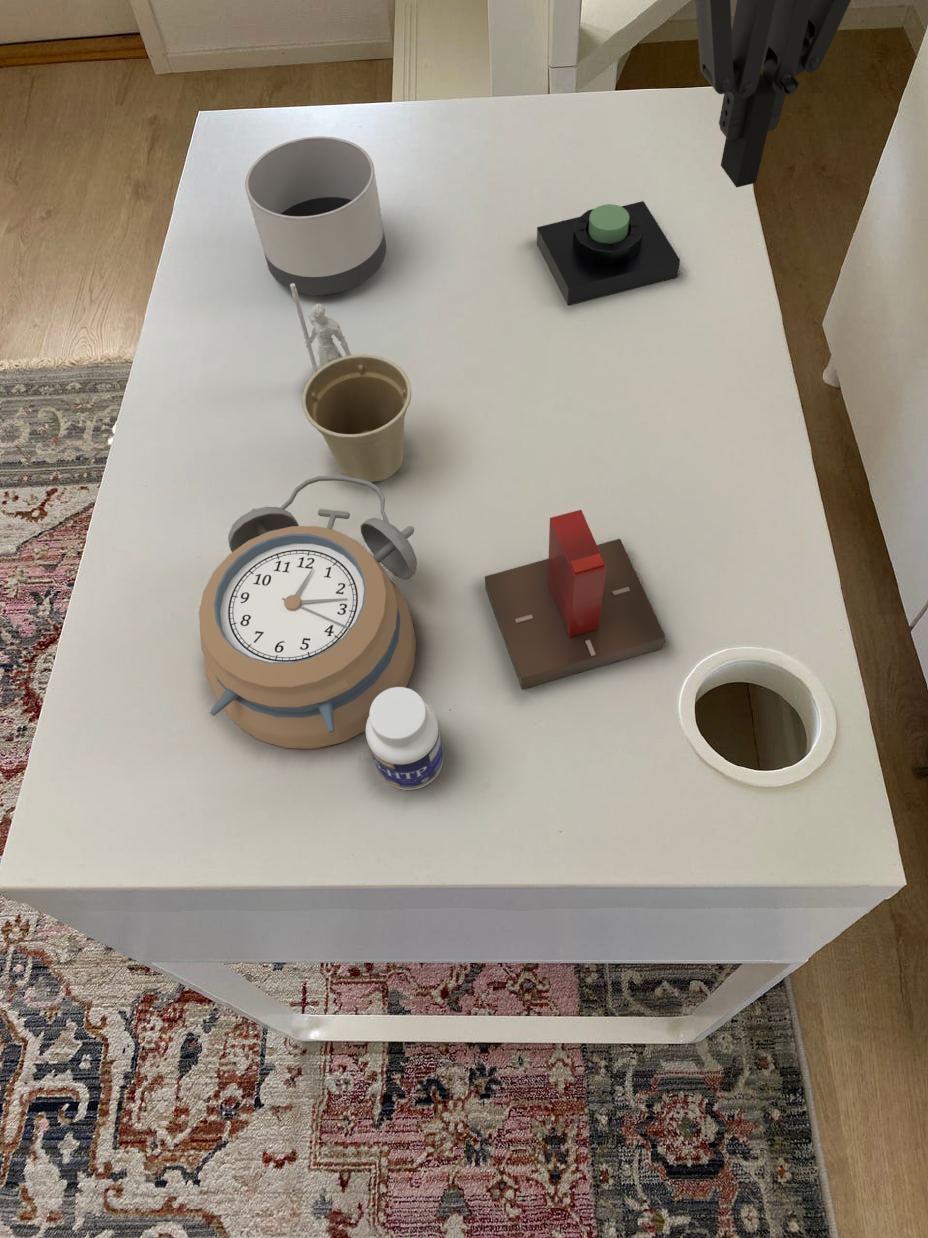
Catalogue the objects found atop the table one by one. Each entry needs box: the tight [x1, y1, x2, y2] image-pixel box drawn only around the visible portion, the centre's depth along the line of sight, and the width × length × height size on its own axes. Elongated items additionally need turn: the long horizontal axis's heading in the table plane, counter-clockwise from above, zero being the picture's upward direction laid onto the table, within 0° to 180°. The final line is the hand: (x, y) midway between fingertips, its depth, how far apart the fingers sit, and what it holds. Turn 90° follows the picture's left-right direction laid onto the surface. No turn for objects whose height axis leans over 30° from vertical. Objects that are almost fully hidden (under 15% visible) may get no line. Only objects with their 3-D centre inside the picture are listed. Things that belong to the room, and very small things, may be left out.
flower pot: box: [301, 353, 412, 483], centre depth 84 cm, size 9×9×9 cm
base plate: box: [484, 538, 666, 690], centre depth 77 cm, size 12×10×2 cm
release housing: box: [536, 200, 681, 306], centre depth 98 cm, size 12×10×4 cm
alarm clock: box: [198, 475, 418, 750], centre depth 75 cm, size 17×9×23 cm
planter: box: [244, 135, 387, 296], centre depth 97 cm, size 13×13×10 cm
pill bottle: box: [365, 687, 444, 791], centre depth 69 cm, size 5×5×9 cm
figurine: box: [290, 283, 353, 374], centre depth 87 cm, size 5×5×12 cm
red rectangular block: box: [548, 509, 607, 637], centre depth 72 cm, size 6×2×9 cm, turn 16°
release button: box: [589, 203, 629, 244], centre depth 96 cm, size 4×4×2 cm
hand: (738, 173), depth 67 cm, fingers closed
